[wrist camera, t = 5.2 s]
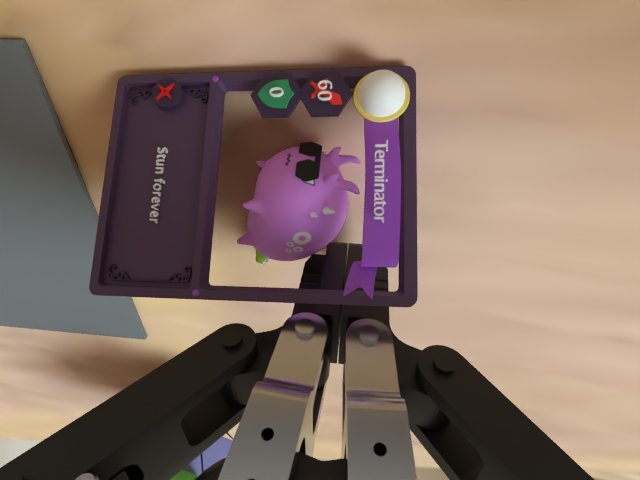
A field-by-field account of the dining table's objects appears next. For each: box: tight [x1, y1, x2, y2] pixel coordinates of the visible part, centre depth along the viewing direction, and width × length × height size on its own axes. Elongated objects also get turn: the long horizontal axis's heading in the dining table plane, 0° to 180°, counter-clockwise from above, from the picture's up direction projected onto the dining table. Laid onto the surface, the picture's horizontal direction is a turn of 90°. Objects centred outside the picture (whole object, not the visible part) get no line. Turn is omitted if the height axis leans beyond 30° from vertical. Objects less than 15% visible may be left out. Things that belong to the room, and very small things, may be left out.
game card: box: [89, 66, 417, 307], centre depth 12 cm, size 7×5×9 cm
